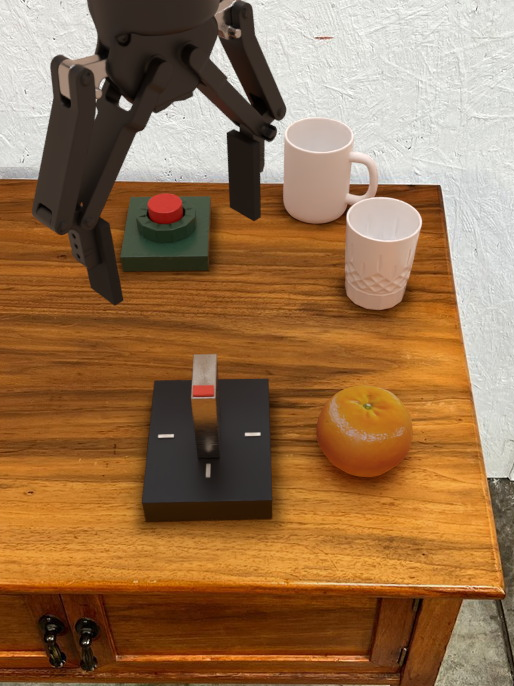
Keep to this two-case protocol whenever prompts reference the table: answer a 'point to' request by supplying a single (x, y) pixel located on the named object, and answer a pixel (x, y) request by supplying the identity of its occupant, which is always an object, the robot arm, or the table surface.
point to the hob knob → (206, 405)
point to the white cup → (380, 251)
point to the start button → (165, 208)
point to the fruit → (364, 430)
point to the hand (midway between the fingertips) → (180, 251)
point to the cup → (321, 169)
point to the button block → (167, 238)
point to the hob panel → (209, 473)
